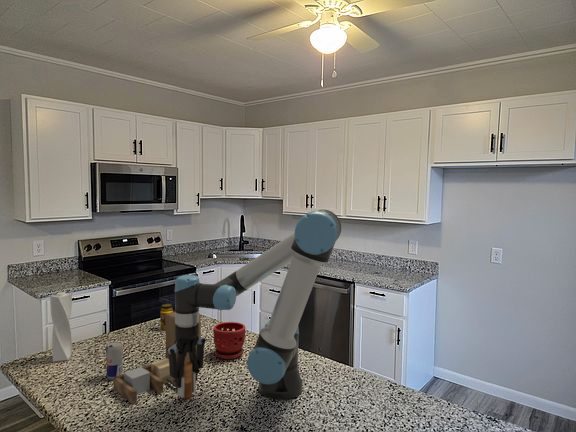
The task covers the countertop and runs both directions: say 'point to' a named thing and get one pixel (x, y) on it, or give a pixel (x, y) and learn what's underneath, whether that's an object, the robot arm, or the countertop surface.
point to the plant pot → (229, 339)
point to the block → (138, 379)
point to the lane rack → (131, 393)
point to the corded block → (163, 373)
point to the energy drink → (114, 360)
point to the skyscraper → (61, 326)
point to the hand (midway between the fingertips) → (186, 393)
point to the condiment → (164, 316)
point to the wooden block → (171, 334)
